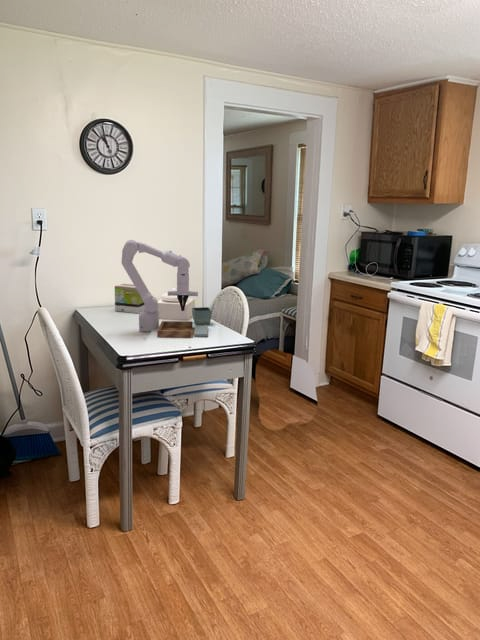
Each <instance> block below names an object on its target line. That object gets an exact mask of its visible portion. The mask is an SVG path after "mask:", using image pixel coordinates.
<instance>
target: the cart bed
mask: <svg viewBox="0 0 480 640" xmlns="http://www.w3.org/2000/svg"><path fill="white" fill-rule="evenodd" d="M193 323H194V320H193V321H189V320H161V322H160V323H159V328H158V329H157V331H156V333H157V335H156V336H157V337H156V338H164V339H165V338H167V339H168V338H170V339H171V338H174V339H176V338H177V339H178V338H179V339H184V338H185V339H193V338H195V337H194V332H195V326H194V327H193V325H194V324H193Z"/></svg>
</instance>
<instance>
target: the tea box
mask: <svg viewBox="0 0 480 640" xmlns="http://www.w3.org/2000/svg"><path fill="white" fill-rule="evenodd" d="M114 310H115V312H122V313H132V314H139V313H140V312H144V310H145V305H144V302H143V300H142V298H141V296H140V294H139V292H138V291H137V289H136V287H135V286H134V284H133V283H132V284H130V283H121V284H117V285H114Z"/></svg>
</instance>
